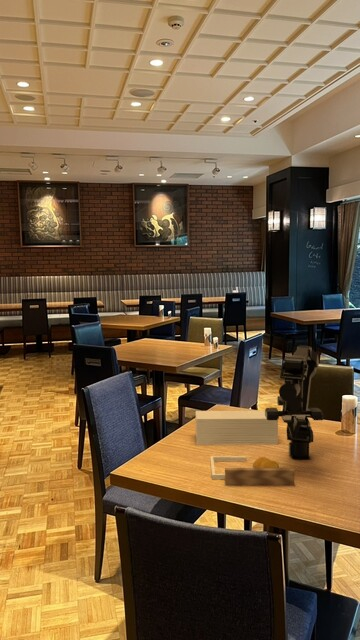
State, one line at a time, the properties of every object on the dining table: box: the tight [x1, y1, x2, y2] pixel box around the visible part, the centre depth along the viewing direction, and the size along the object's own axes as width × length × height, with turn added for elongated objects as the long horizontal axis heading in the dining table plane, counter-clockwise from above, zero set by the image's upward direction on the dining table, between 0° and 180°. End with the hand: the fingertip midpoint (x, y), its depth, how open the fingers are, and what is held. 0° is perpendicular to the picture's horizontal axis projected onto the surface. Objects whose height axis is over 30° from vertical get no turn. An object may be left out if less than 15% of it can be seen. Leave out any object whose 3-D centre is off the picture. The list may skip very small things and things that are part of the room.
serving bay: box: [209, 455, 248, 480], centre depth 166 cm, size 13×16×2 cm
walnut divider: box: [224, 467, 296, 487], centre depth 154 cm, size 22×2×5 cm, turn 89°
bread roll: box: [252, 456, 280, 468], centre depth 165 cm, size 8×9×4 cm
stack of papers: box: [195, 410, 279, 446], centre depth 194 cm, size 32×11×11 cm, turn 90°
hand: (293, 438), depth 164 cm, fingers closed
